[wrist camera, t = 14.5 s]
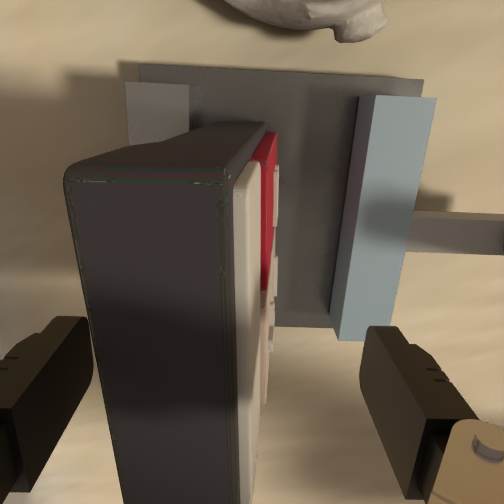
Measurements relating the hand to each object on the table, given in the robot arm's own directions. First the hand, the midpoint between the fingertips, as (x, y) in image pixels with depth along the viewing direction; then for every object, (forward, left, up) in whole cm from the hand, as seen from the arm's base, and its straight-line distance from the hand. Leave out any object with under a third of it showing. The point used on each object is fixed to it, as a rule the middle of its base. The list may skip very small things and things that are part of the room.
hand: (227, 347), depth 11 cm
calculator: (0, -1, -14) cm, 14 cm away
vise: (0, -2, -15) cm, 15 cm away
